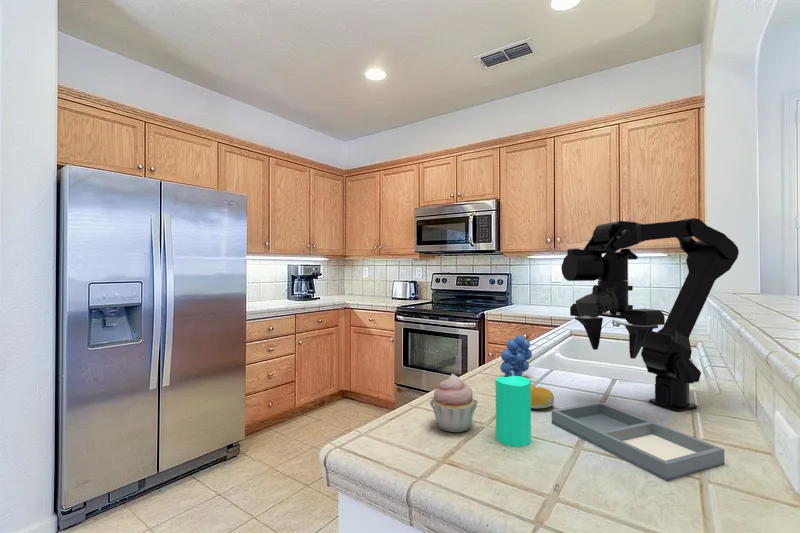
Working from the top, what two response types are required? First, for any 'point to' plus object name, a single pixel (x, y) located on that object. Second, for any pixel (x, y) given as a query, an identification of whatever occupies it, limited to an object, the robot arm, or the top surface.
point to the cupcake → (453, 405)
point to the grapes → (516, 356)
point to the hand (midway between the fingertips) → (613, 353)
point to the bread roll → (541, 397)
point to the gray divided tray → (639, 440)
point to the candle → (513, 410)
